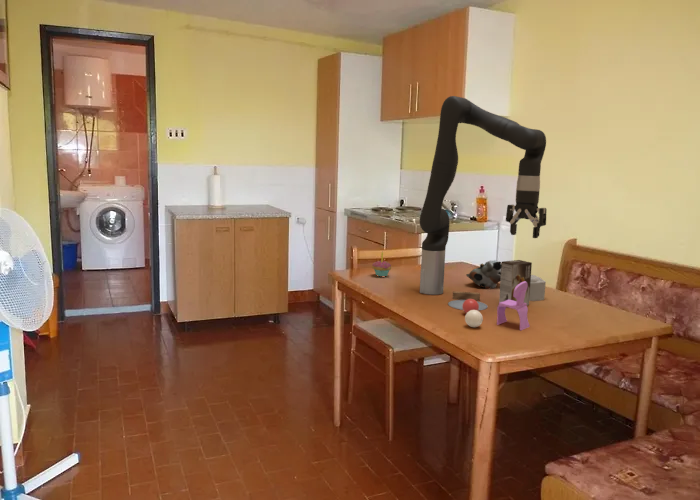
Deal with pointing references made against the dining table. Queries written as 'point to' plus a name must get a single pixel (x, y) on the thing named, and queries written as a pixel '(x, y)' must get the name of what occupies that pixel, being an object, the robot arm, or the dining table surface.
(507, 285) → the coffee box
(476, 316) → the cream ball
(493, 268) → the lucky cat figurine
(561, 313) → the dining table surface
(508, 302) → the toy chair
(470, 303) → the red ball
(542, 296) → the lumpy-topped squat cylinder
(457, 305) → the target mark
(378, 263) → the cupcake
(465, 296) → the strip
